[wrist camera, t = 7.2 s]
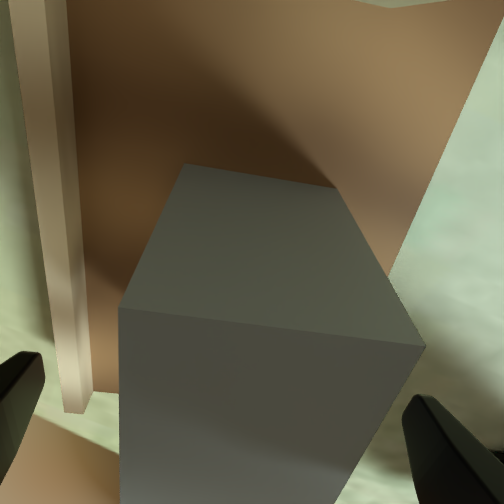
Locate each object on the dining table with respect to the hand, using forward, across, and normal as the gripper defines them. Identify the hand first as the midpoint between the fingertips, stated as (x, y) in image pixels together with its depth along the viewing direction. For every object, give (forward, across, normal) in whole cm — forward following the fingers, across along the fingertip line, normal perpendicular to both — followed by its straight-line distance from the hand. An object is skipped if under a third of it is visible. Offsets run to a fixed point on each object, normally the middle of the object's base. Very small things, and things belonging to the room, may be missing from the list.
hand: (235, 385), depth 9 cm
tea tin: (+5, 0, 0) cm, 5 cm away
